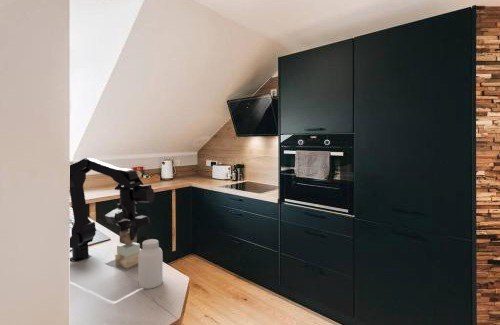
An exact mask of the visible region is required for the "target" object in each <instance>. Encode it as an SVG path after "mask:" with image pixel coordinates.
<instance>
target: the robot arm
mask: <svg viewBox="0 0 500 325" xmlns="http://www.w3.org/2000/svg"><path fill="white" fill-rule="evenodd" d="M90 171H94V172H96V173H99V174H102V175H104V176H107V177H109V178H111V179H112V180H113V181H114V182H115V183H117V186H116V187H114V190H115V191H116V190H117V191H118V190H119V203H117V205H116V208H115V209H113V210H111V211H110V212H108V213H106V214H105V215H104V217H105V220H106V222H107V224H112V225H116V226H118V228H119V232H120V231H123V230H126V229H129V230H130V239H131V241H133V240H134V238H135V236H136V234H138V232H139V230H140V229H141V227H142V226H145V225H148V224H150V217H149V216H147V215H143V214H142V215H139V212H136V210H137V209H136V207H137V206H138V205H139V203H153V201H154V200H155V195H156V193H155V190H154V188H152V185H151V184H144V183H143V181H142V180H141V178H140V177H139V175H138V173H137V171H136V169H132V168H129V167H128V168H126V167H125V168H124V167H117V166H114V165H113V164H110V163H106V162H103V161H101V160H98V159H96V158H94V157H84V158H82V159H80V160H79V161H77V162H74V163H72V164H70V190H69V196H70V201H71V209H72V215H73V219H74V220H73V221H74V222H73V225H72V227H71V236H70V237H69V238H70V248H71V253H72V254H71V257H69V258H70V260H69V261H72V262H77V263H78V262H81V261H84V260H87V259H90V258H92V257H93V255H90V254H89V243H91V242H93V240H94V237H95V236H96V232H97V229H96V222H95V221H93V222H92V221H91V220H90V219H89V215H88V209H87V204H86V203H87V202H86V196H85V190H84V184H85V181H86V179H87V173H89V172H90ZM138 202H139V203H138Z"/></svg>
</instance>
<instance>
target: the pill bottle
mask: <svg viewBox="0 0 500 325" xmlns="http://www.w3.org/2000/svg"><path fill="white" fill-rule="evenodd" d="M159 243H160V242H159V240H158V239H155V238H151V239H150V238H149V239H146V240H143V242H142V244H141V246H142V248H140V252H139V254H138V266H137V267H138V268H137V269H138V270H137V271H138V276H137V277H138V278H137V279H138V281H137V282H138V285H139V287H140V288H141V289H146V290H148V289H154V288H157V287H159V286H160V285H162V283H163V278H164V277H163V276H164V275H163V272H164V271H163V264H164V263H163V261H164V260H163V250H162V248H161V247H160V244H159Z"/></svg>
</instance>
